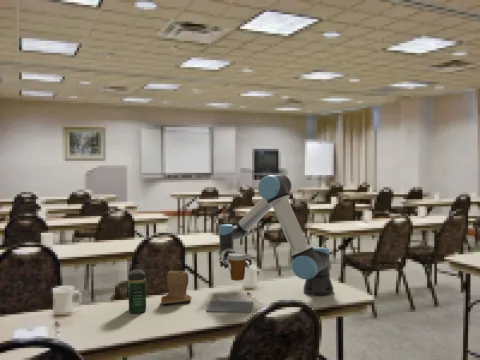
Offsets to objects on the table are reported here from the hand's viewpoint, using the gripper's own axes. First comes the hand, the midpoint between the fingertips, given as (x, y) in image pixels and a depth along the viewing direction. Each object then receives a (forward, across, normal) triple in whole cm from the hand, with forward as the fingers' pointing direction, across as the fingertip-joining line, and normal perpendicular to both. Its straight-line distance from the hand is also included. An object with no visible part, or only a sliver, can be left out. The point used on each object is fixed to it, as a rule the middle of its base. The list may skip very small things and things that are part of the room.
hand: (239, 266), depth 203 cm
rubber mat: (+2, +5, -18) cm, 19 cm away
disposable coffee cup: (-5, 0, -7) cm, 9 cm away
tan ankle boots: (-14, +29, -19) cm, 37 cm away
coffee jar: (-5, +47, -19) cm, 51 cm away
